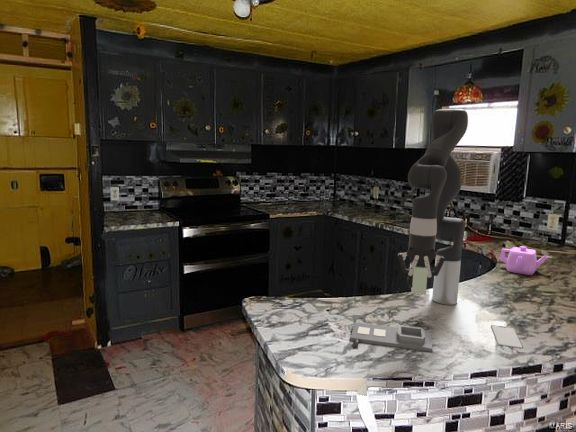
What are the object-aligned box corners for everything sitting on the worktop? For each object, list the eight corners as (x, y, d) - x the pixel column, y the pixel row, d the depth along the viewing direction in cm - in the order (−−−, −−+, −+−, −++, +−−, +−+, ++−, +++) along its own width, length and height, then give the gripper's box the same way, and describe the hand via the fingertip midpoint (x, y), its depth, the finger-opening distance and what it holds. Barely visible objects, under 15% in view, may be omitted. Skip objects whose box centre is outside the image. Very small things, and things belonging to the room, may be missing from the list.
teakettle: (523, 265, 221) (526, 242, 219) (548, 275, 205) (551, 250, 203) (494, 266, 218) (496, 243, 216) (517, 276, 202) (520, 251, 200)
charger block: (411, 288, 130) (413, 263, 129) (424, 289, 129) (426, 264, 128) (411, 292, 126) (413, 266, 125) (425, 294, 126) (427, 267, 124)
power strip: (354, 325, 141) (354, 317, 141) (429, 334, 135) (430, 326, 135) (349, 346, 126) (349, 337, 125) (433, 358, 120) (434, 348, 120)
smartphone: (497, 344, 129) (490, 324, 143) (497, 346, 129) (490, 326, 144) (524, 348, 127) (514, 328, 141) (524, 350, 127) (514, 329, 141)
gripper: (446, 231, 127) (441, 286, 130) (398, 228, 130) (394, 281, 133) (449, 236, 120) (444, 294, 123) (398, 232, 123) (394, 289, 126)
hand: (418, 287), depth 128 cm, fingers closed on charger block, 4 cm apart
